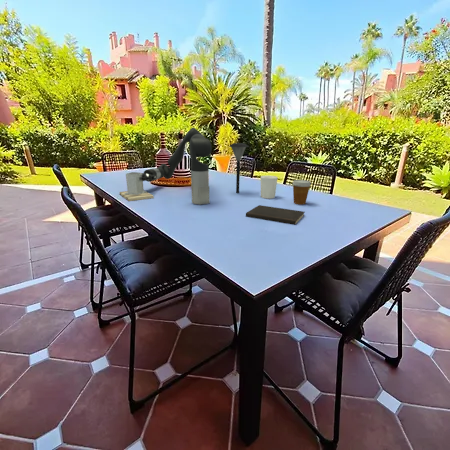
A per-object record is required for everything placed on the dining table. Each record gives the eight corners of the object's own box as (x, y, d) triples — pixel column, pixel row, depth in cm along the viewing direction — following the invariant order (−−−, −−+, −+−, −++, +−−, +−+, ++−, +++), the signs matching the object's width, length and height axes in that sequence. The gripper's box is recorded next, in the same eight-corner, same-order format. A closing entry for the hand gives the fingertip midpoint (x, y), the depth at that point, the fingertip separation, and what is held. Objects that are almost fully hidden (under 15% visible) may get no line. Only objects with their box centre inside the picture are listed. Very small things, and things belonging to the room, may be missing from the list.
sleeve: (147, 192, 162) (145, 172, 158) (137, 195, 154) (135, 174, 150) (134, 191, 165) (132, 171, 161) (124, 194, 157) (122, 173, 153)
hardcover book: (258, 209, 137) (259, 205, 137) (304, 216, 127) (305, 211, 126) (245, 217, 124) (245, 212, 123) (295, 226, 114) (295, 221, 113)
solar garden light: (247, 191, 175) (249, 143, 165) (247, 195, 164) (249, 143, 154) (228, 190, 176) (229, 142, 166) (227, 195, 165) (227, 143, 155)
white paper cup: (277, 199, 156) (278, 178, 152) (260, 198, 156) (261, 178, 152) (274, 195, 165) (276, 175, 161) (258, 195, 165) (259, 175, 161)
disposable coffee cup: (288, 204, 146) (290, 181, 142) (293, 200, 154) (295, 179, 150) (306, 206, 142) (309, 183, 138) (310, 202, 149) (312, 180, 146)
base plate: (153, 198, 156) (152, 188, 154) (128, 201, 148) (127, 191, 147) (142, 191, 171) (141, 183, 170) (119, 194, 164) (118, 185, 162)
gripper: (142, 168, 174) (125, 171, 159) (161, 169, 169) (146, 173, 155) (143, 179, 176) (127, 184, 162) (162, 181, 172) (147, 186, 157)
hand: (136, 178), depth 158 cm, fingers open, 8 cm apart
